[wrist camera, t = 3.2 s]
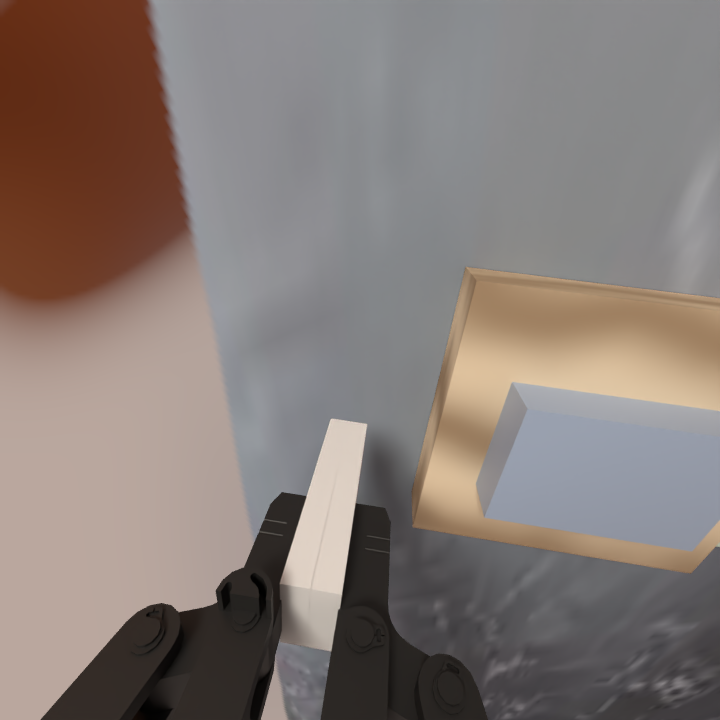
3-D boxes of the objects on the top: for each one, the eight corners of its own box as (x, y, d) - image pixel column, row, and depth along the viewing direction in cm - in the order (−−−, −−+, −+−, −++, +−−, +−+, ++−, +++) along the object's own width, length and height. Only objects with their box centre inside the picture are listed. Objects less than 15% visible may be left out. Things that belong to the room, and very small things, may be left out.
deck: (465, 267, 15) (476, 280, 13) (830, 311, 14) (910, 335, 12) (411, 491, 21) (412, 527, 19) (659, 531, 20) (690, 573, 18)
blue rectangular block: (475, 483, 17) (484, 517, 15) (512, 381, 14) (527, 409, 12) (661, 512, 17) (691, 551, 15) (735, 413, 14) (784, 446, 12)
